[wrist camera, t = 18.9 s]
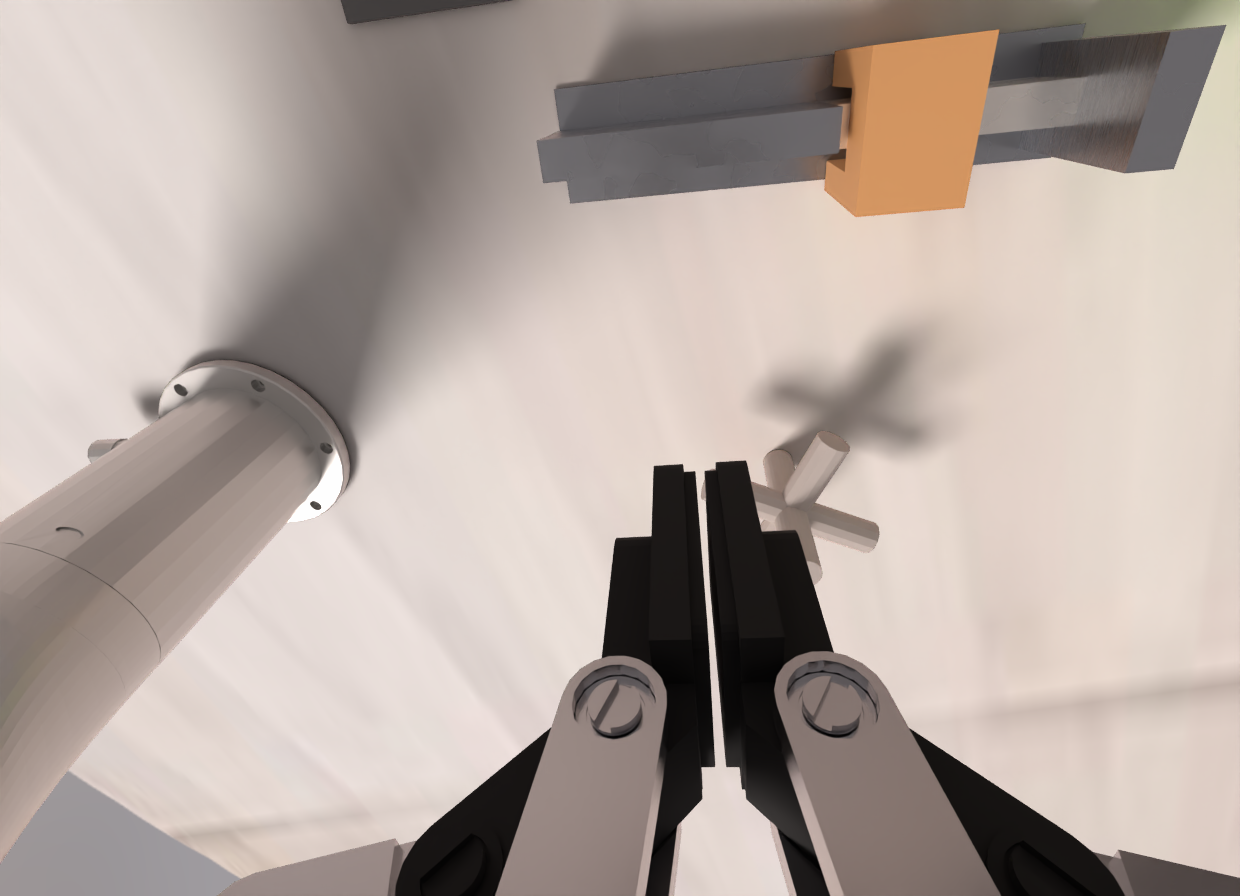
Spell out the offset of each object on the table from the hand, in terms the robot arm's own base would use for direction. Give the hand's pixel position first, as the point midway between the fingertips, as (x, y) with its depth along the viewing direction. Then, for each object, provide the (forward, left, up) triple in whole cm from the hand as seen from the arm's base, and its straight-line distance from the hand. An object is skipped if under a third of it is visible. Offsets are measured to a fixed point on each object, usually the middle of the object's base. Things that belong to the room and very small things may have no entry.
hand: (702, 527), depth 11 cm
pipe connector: (+5, -14, -23) cm, 28 cm away
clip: (+8, +5, -23) cm, 25 cm away
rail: (+5, +5, -23) cm, 24 cm away
